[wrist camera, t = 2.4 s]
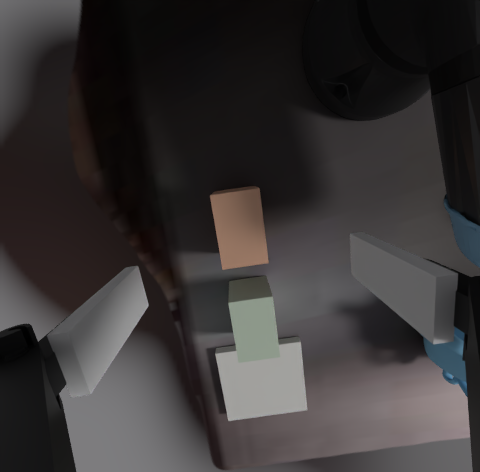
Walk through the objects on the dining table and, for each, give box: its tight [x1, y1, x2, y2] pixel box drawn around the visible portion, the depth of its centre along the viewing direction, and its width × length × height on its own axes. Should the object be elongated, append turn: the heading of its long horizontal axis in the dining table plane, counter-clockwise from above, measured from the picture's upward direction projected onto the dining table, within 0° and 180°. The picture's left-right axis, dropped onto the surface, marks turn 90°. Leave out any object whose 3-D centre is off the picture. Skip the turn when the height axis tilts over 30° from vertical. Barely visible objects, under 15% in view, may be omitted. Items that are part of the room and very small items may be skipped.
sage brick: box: [228, 276, 280, 363], centre depth 31 cm, size 8×5×6 cm, turn 8°
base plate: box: [215, 337, 307, 421], centre depth 36 cm, size 12×12×1 cm
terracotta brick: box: [210, 186, 269, 270], centre depth 29 cm, size 8×5×6 cm, turn 8°
